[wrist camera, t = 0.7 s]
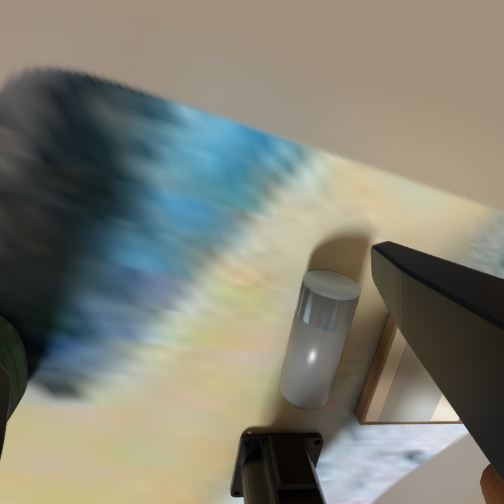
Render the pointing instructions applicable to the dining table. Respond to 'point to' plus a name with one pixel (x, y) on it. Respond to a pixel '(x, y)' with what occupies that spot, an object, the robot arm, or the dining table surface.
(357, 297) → the cylinder
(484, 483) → the wooden figurine
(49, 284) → the dining table surface
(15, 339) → the coffee jar
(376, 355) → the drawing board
